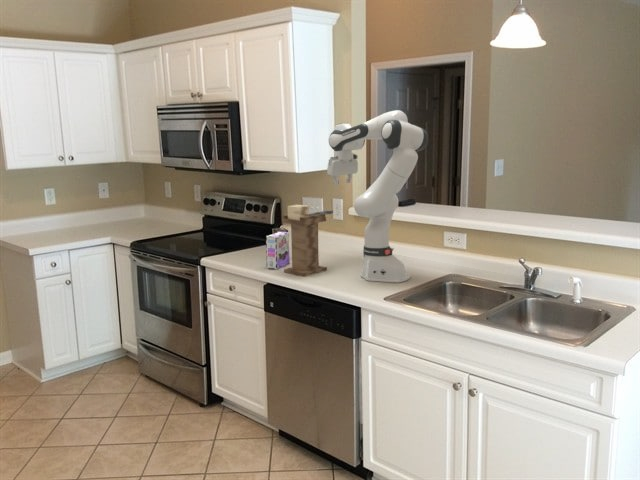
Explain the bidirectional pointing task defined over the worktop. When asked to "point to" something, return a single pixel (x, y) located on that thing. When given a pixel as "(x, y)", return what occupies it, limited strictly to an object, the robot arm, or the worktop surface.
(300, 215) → the beech block
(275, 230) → the coffee box
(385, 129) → the robot arm
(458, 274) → the worktop surface
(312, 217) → the walnut stand
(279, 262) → the candy box
